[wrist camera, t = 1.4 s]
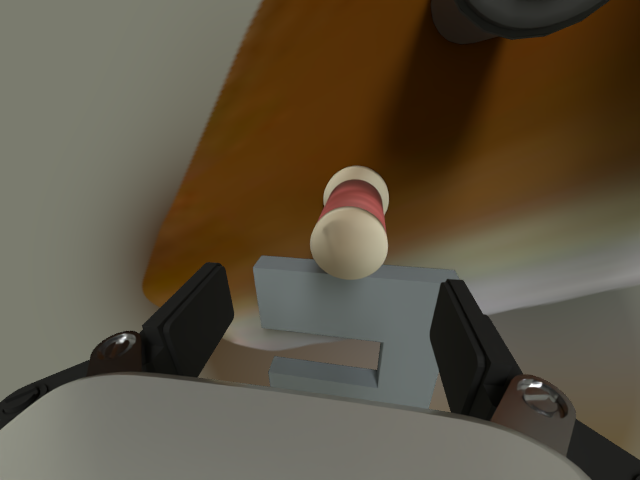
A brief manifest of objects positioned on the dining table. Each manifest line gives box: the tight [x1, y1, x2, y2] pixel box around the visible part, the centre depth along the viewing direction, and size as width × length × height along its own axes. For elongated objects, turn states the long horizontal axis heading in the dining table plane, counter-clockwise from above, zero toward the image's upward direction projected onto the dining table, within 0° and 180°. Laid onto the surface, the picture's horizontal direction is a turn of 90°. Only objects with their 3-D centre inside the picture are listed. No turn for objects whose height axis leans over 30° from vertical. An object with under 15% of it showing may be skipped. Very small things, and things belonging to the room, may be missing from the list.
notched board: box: [253, 256, 460, 409], centre depth 32 cm, size 20×24×2 cm
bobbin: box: [310, 166, 389, 280], centre depth 20 cm, size 6×6×10 cm
